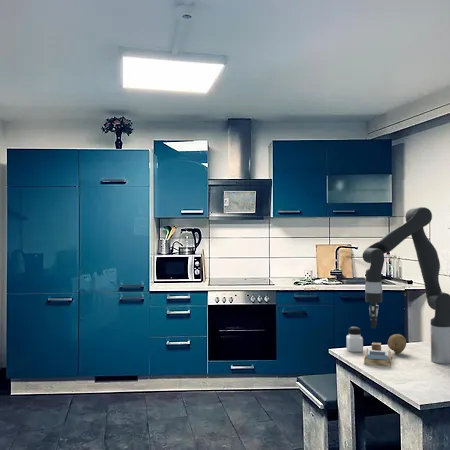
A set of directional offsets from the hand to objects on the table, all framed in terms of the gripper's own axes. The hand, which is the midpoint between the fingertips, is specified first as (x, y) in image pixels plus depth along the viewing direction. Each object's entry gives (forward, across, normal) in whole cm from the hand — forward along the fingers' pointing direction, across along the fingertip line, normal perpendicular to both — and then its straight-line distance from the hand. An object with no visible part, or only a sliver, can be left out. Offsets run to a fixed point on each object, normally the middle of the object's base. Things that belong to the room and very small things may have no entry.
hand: (374, 326), depth 224 cm
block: (+19, +30, 0) cm, 35 cm away
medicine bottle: (+19, +31, +12) cm, 38 cm away
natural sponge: (+19, +30, -10) cm, 37 cm away
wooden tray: (+19, +13, -1) cm, 23 cm away
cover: (+16, +9, -1) cm, 18 cm away
